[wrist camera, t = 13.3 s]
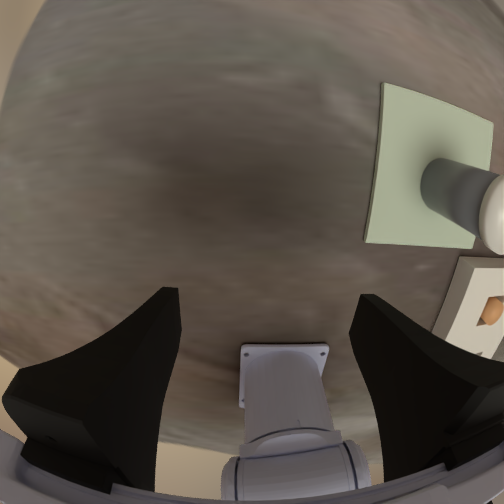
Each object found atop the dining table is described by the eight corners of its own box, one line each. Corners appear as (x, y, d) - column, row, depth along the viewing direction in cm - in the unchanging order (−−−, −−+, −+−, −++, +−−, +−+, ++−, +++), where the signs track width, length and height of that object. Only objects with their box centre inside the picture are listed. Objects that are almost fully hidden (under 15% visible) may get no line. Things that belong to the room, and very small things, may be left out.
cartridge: (458, 213, 20) (521, 251, 13) (415, 214, 20) (480, 257, 13) (463, 158, 18) (533, 180, 11) (419, 153, 18) (493, 174, 11)
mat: (468, 246, 22) (471, 248, 21) (363, 240, 21) (365, 242, 21) (489, 122, 17) (493, 123, 16) (381, 83, 16) (384, 82, 16)
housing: (463, 378, 30) (470, 389, 28) (399, 393, 30) (406, 408, 27) (520, 258, 23) (532, 268, 20) (459, 256, 22) (474, 268, 20)
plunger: (485, 311, 24) (497, 324, 22) (471, 313, 24) (483, 326, 22) (494, 290, 23) (507, 302, 21) (480, 291, 23) (493, 304, 21)
